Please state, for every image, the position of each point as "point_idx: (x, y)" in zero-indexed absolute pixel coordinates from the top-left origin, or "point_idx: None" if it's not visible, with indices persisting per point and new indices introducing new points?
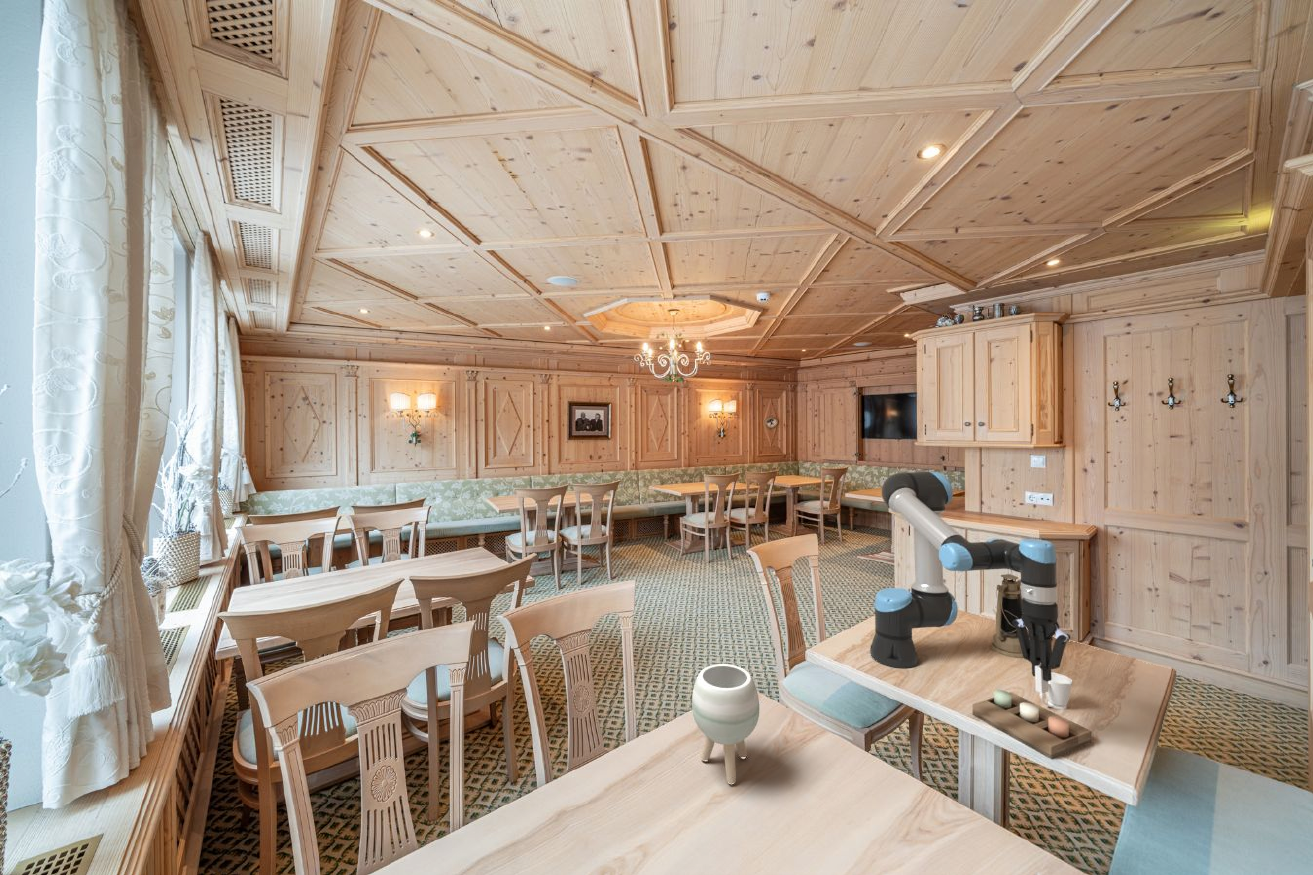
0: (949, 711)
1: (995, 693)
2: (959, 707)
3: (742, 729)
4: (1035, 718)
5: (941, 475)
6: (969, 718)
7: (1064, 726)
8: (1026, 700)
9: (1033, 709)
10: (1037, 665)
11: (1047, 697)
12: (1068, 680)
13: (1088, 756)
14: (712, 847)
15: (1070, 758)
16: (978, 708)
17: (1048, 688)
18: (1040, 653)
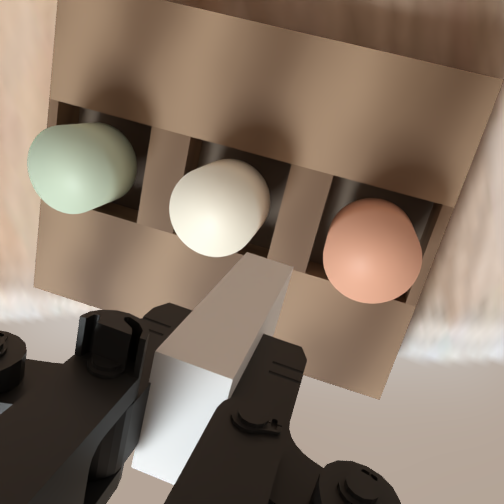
0: (8, 312)
1: (47, 202)
2: (8, 251)
3: None
4: (260, 226)
5: None
6: (72, 306)
7: (408, 288)
8: (150, 7)
9: (238, 226)
10: (144, 433)
11: None
12: None
13: (490, 233)
14: None
15: (433, 309)
16: (64, 294)
17: (288, 274)
18: (57, 481)
